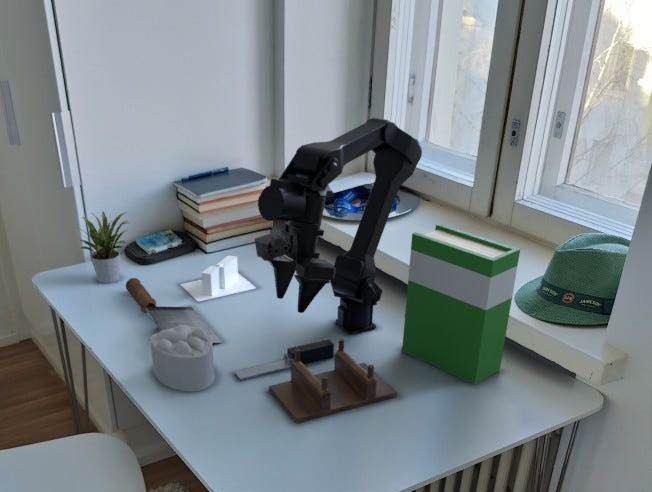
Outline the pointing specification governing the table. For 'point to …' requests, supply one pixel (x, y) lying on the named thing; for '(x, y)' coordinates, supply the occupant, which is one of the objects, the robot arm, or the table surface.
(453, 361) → the hardback book
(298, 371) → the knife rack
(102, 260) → the house plant
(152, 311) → the meat cleaver
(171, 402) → the table surface
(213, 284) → the napkin holder
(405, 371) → the table surface
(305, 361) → the kitchen knife
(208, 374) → the lumpy-topped squat cylinder
